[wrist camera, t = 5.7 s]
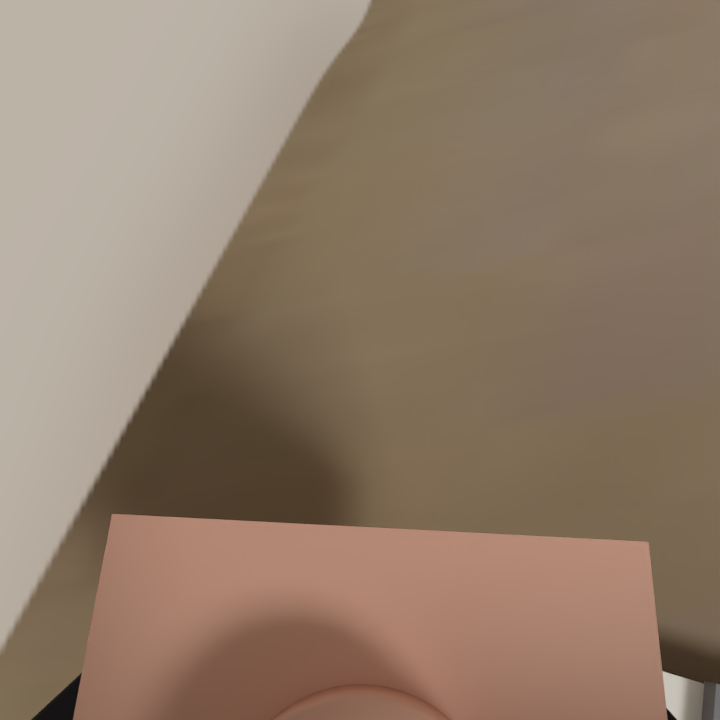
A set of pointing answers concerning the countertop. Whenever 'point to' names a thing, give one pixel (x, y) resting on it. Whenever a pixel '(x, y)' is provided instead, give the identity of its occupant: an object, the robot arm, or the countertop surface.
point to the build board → (691, 698)
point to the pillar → (367, 625)
